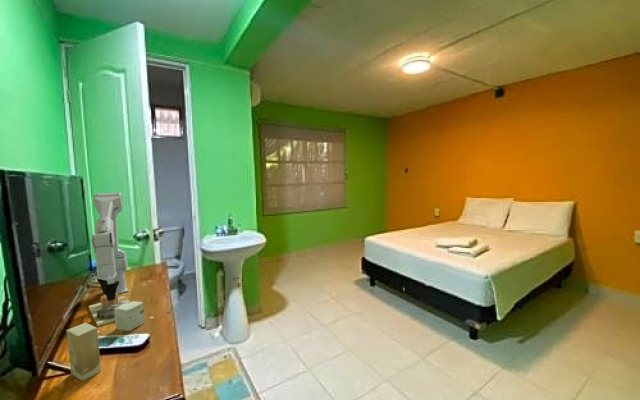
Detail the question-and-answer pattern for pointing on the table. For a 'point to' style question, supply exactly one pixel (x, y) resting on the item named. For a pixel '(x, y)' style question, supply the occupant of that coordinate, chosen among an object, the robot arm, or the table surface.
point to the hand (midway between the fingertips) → (109, 297)
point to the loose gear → (107, 303)
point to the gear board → (98, 307)
